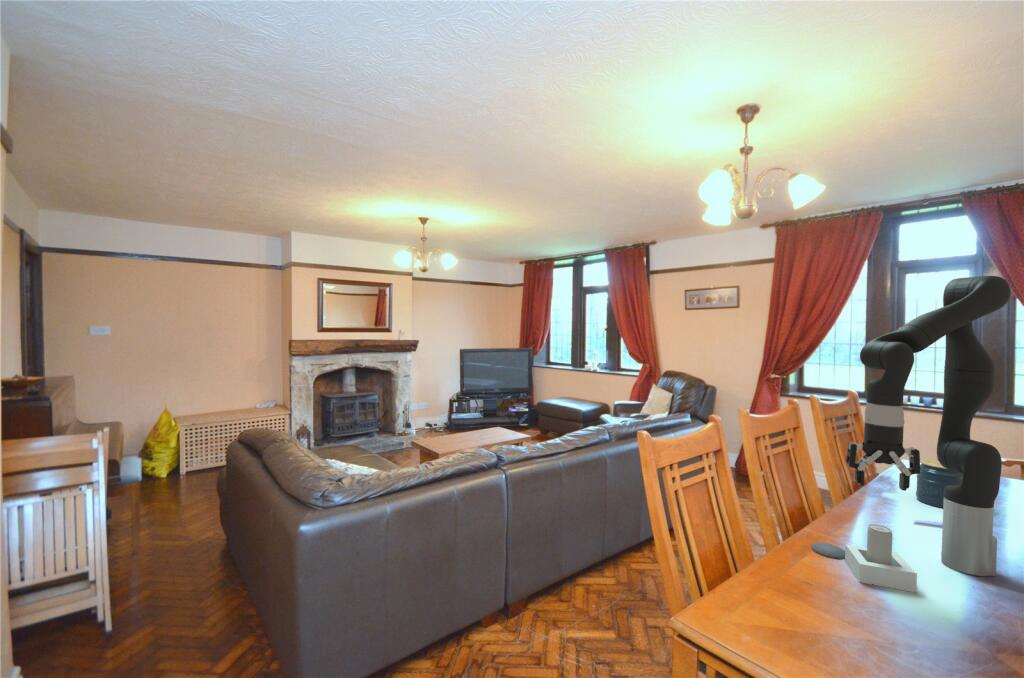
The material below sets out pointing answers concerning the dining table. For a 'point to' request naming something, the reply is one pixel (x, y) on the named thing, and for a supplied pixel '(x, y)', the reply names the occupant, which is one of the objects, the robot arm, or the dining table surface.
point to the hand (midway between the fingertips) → (881, 487)
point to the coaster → (828, 550)
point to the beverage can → (879, 544)
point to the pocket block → (880, 570)
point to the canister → (934, 481)
